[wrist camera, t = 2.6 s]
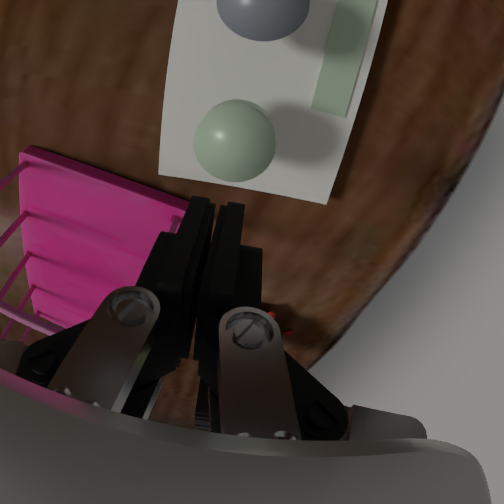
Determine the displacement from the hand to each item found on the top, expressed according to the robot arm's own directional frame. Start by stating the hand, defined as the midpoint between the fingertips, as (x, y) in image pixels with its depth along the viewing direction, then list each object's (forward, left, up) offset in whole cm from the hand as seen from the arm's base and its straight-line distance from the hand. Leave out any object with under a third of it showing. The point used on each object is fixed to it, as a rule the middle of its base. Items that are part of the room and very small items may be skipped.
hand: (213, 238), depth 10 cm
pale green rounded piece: (0, 0, -11) cm, 11 cm away
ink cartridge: (+37, +1, -14) cm, 39 cm away
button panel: (-8, +1, -14) cm, 17 cm away
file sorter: (+18, -14, -15) cm, 27 cm away
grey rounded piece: (-8, 0, -11) cm, 14 cm away
